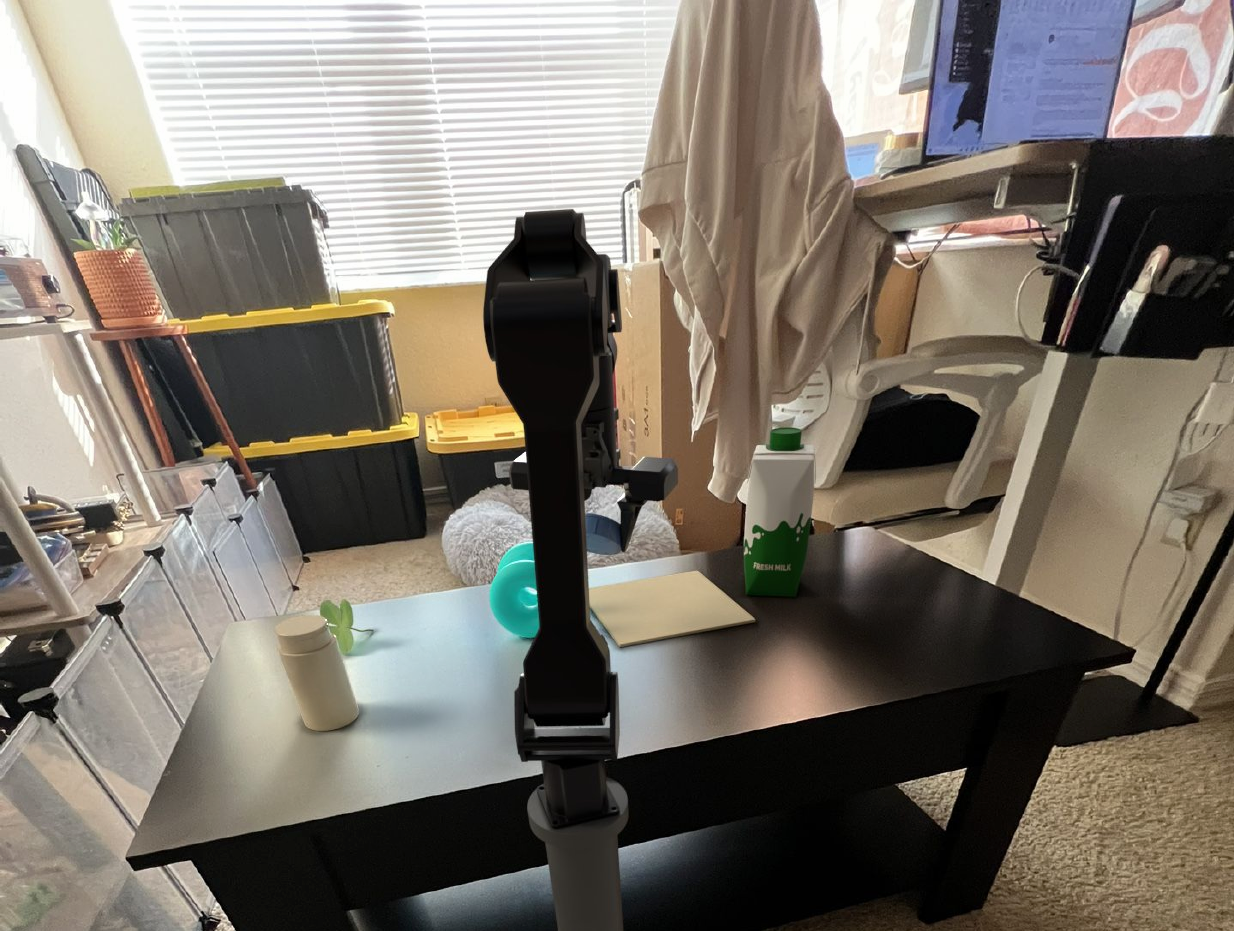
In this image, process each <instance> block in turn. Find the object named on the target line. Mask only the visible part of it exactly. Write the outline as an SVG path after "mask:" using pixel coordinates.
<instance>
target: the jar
mask: <svg viewBox="0 0 1234 931" xmlns="http://www.w3.org/2000/svg"><path fill="white" fill-rule="evenodd" d="M329 625H330V623H329V622H328V621H327V619H325V618H324V617H322V616H320V615H317V614H306V615H298V616H294V617H290V618H288V619H285V620H283V621H281V622H279V623H278V624H277V625H276V626H275V627H274V633H275V636H276V639H277V641H278V645H277V647H276V650H277V653H278V656H279V659H280V662H281V665H282V667H283V670H284V671H285V675H286V678H287V680H288V683H289V687H290V688H291V691H292V694H293V697H294V700H295V702H296V704H297V707H298V710H299V712H300V715H301V718H302V720H303V723H304V725H305V727H306V728H308V729H309V730H311V731H316V732H329V731H333V730H337V729H341V728H344V727H346V726H348V725H351V724H352V723H353V722H354V721H356V719H357V718H358V717H359V716H360V715H359V714H360V709H359V706H358V703H357V699H356V695H355V693H354V690H353V687H352V683H351V680H350V677H349V674H348V670H347V668H346V664H345V662H344V658H343V654H341V651H340V648H339V645H338V642H337V638H336V636H335V635H334V634H332V633H331V632H330V629H329Z"/></svg>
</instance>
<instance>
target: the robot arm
mask: <svg viewBox="0 0 1234 931" xmlns="http://www.w3.org/2000/svg"><path fill="white" fill-rule="evenodd" d="M586 227H587V226H586V220H585V215H584V212H578V213H577V211H576V210H575V209H574V208H566V209H549V210H534V211H525V212H524V213H523V214H522V216H516V217H515V223H514V231H513V232H514V233H513V239H512V240H511V241H510V242H509V243H508V244H507V246H506V247H505V248H504V249H503V250H502V252H501V253H500V254H498V256H497V258H496V259H495V260H494V261H493V262H492V263H491V264H490V266H488V269H487V270H486V271H487V272H486V281H485V288H484V290H485V291H484V298H483V299H484V300H483V309H482V310H483V312H482V320H483V323H482V324H483V333H484V338H485V340H484V342H485V346H486V350H487V354H488V356H489V360H490V361H491V362H494V364H495V372H496V380H497V384H498V385H499V388H500V389H501V390H502V392H503V394H504V396H505V397H506V399H507V400H508V402H509V403H510V406H511V407H512V408H513V410H514V411H515V414H516V415H517V417H518V418H519V420H520V421H521V423H522V427H523V435H524V436H523V437H524V448H525V451H524V452H523V453H522V454H521V455H520V456H518V457H517V458H515V460H513V461H512V462H511V464H510V466H509V470H508V476H509V483H510V488H511V489H512V490H517V491H528V499H529V513H530V524H531V525H530V526H531V537H532V538H531V539H532V542H533V551H534V564H535V577H536V589H537V591H536V592H537V602H538V615H539V630H538V632H537V634H536V636H535V638H533V641H532V642H531V645H530V646H529V648H528V651H527V652H526V654H525V656H524V658H523V661H522V662H523V663H522V668H523V673H520V675H519V680H518V681H519V682H518V686H517V688H516V689H515V690H514V693H513V694H514V695H513V698H514V699H513V700H514V702H513V703H514V706H513V707H514V710H513V711H514V712H513V713H514V737H515V744H516V750H517V755H518V756H519V758H520V761H521V763H528V762H541V770H542V778H543V783H544V785H542V784H541V785H538V786H537V787H536V789H537V794H538V796H539V799H540V801H541V804H542V806H543V809H544V811H545V814H546V816H547V819H548V821H549V824H550V826H551V828H552V829H560V828H564V827H569V826H573V825H577V824H581V823H586V822H590V821H594V820H598V819H603V818H607V817H611V816H615V815H618V814H619V813H620V809H619V806H618V804H617V802H616V800H615V799H614V797H613V795H612V793H611V791H610V789H609V787H608V785H607V782H606V777H607V770H606V761H611V762H618V756H619V747H620V736H621V724H620V687H619V673H618V671H612V667H611V666H612V665H611V651H610V647H609V643H608V641H607V639H606V638H605V636H604V634H602V633H600V632H599V630H598V629H597V627H596V626H595V624H594V623H593V621H592V619H591V608H590V602H589V588H590V586H589V564H588V563H589V562H588V551H587V541H586V521H585V513H586V501H588V500H589V499H590V498H591V496H592V492H593V490H595V489H596V488H601V489H605V488H606V487H607V486H608V485H615V486H616V485H617V486H623V490H624V493H623V494H622V496H620V497H619V499H618V500H616V504H617V506H618V508H619V511H620V518H619V520H620V522H619V523H620V541H621V553H626V552H627V551H628V548H629V545H630V542H631V539H632V536H633V533H634V530H635V527H636V523H637V520H638V518H639V516H640V512H641V510H642V508H643V506H644V505H646V504H647V502H657V503H658V502H661V501H665V500H666V499H667V498H668V497H669V495H670V494H671V493H672V492H673V491H674V489H675V488H676V486H677V485H678V484H679V468H678V465H677V464H676V462H675V461H674V459H673V458H670V457H657V456H656V457H654V456H643V457H642V458H641V459H640V460H639V461H638V462H637V463H636V464H635V465H634V466H627V465H618V462H619V461H620V460H621V459H622V455H621V448H617V431H616V430H617V429H616V422H617V421H618V420H619V419H620V413H619V412H620V411H619V408H616V407H615V396H614V395H615V393H614V392H615V391H614V373H615V369H616V364H617V360H618V359H617V358H618V344H617V342H616V338H615V336H614V335H613V334H616V333H617V334H618V333H622V331H623V321H622V319H623V318H622V307H621V295H620V294H621V293H620V282H619V280H620V279H619V271H618V269H617V268H614V269H613V268H612V262H611V257H610V256H609V255H608V254H606V253H597V252H596V250H595V249H594V248H593V247H592V245H591V244H590V243H589V242H588V240H587V228H586ZM608 716H609V727H604V726H605V725H606V720H607V717H608ZM535 727H537V728H535ZM551 727H553V728H551ZM554 727H555V728H554ZM556 727H557V728H556Z"/></svg>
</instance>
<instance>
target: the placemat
mask: <svg viewBox="0 0 1234 931" xmlns="http://www.w3.org/2000/svg"><path fill="white" fill-rule="evenodd" d="M589 602H590V611H592V613H593V614H594V615H595V617H596V618H597V620H598V621H599V623H601V624H602V626H603V628H604V629H605V630H606V631H607V632H608V634H609V635H610V636H611V638H612V639H613V641H614V642H615V643H616V645H617V646H618V647H619V648H623V647H629V646H634V645H640V644H644V643H650V642H656V641H661V640H666V639H671V638H677V637H682V636H688V635H692V634H698V633H703V632H709V631H715V630H720V629H725V628H730V627H737V626H741V625H747V624H748V625H749V624H752V623H756V622H757V621H756V619H755V617H753V615H752V614H750V613H749V612H748V611H746V609H744V608H743V607H742V606H740V605H739V604H738V603H737V602H735V601H734V600H733V599H732V598H731V597H730V596H729V595H727V593H725V592H724V591H723V590H722V589H720V588H719V587H718V586H716V585H715V584H714V583H713V582H712V581H711V580H710V579H708V578H707V577H706V576H705V575H704V574H702V573H701V572H700V571H699V570H691V571H685V572H679V573H673V574H667V575H661V576H655V577H650V578H644V579H637V580H631V581H626V582H619V583H614V584H613V583H612V584H607V585H601V586H596V587H589Z"/></svg>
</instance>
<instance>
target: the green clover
mask: <svg viewBox="0 0 1234 931" xmlns="http://www.w3.org/2000/svg"><path fill="white" fill-rule="evenodd" d="M319 616H322V617H324V618H325V619H327V621H328V622H329V629H330V632H331V633H332V634H334V635H335V636H336V638H337V642H338V645H339V648H340V651H341V654H342V656H344V655H347V654H348V653H349V652H351V651H352V650H353V647H354V642H355V640H354V639H355V638H354V635H353V632H352V630H353V631H356V632H359V633H365V632H374V629H371V628H368V629H357V628H355V627H353V626H354V612H353V608H352V606H351V603H350V602H349V600H347V599H342V600H341V601H340V603H339V606H338V605H336V604H335V603H334V602H332V601H331V600H330V599H326V600H325V599H324V600H323V601H322V602H321V603H320V606H319Z"/></svg>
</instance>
